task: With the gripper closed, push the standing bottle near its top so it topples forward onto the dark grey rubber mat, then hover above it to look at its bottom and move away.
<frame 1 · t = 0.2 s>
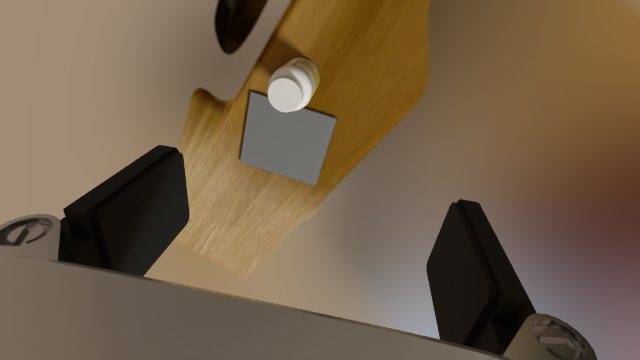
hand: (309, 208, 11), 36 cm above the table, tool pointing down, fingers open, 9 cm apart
rubber mat: (286, 140, 49), on the table
supplement bottle: (301, 77, 44), on the table
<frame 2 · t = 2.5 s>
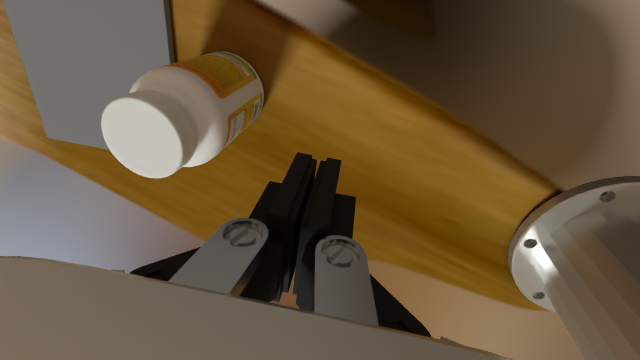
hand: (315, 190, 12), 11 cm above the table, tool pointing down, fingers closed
rubber mat: (101, 68, 23), on the table
supplement bottle: (230, 90, 23), on the table
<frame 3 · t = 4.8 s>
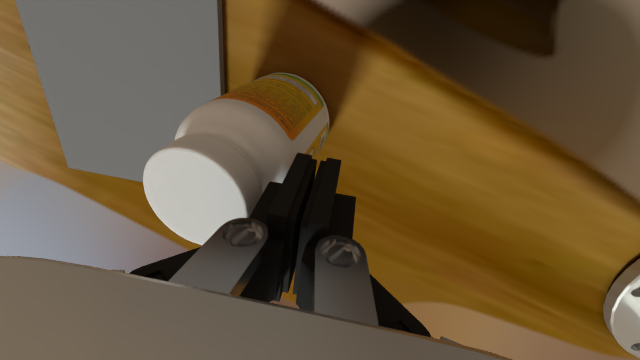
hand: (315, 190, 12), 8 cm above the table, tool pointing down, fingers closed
rubber mat: (134, 90, 20), on the table
supplement bottle: (288, 116, 19), on the table
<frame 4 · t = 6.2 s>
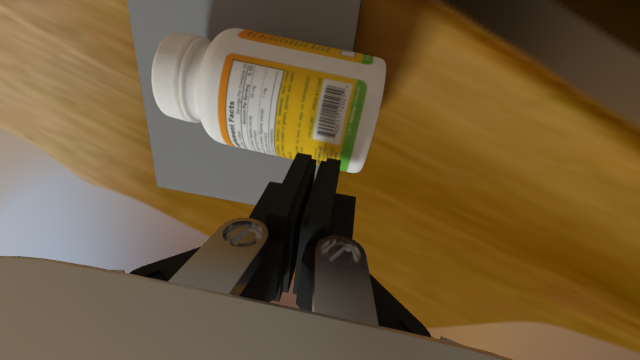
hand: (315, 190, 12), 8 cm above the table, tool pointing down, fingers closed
rubber mat: (242, 108, 19), on the table
supplement bottle: (377, 120, 15), point 3 cm above the table, touching rubber mat
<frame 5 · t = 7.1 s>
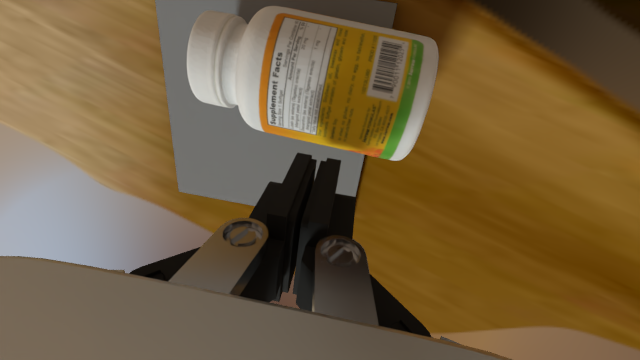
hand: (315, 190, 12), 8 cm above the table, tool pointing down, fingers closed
rubber mat: (269, 113, 19), on the table
supplement bottle: (421, 104, 14), point 3 cm above the table, touching rubber mat
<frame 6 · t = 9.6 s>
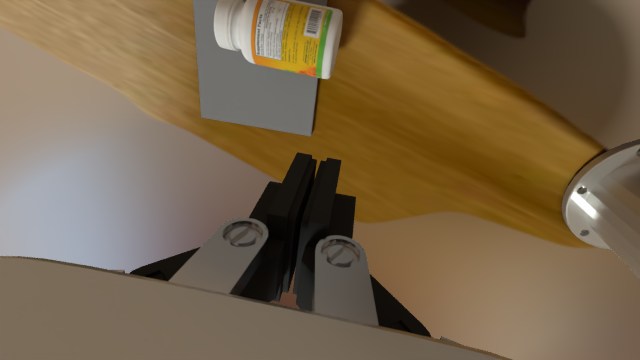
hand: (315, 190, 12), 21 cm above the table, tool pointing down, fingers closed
rubber mat: (258, 61, 31), on the table
supplement bottle: (339, 47, 26), point 3 cm above the table, touching rubber mat
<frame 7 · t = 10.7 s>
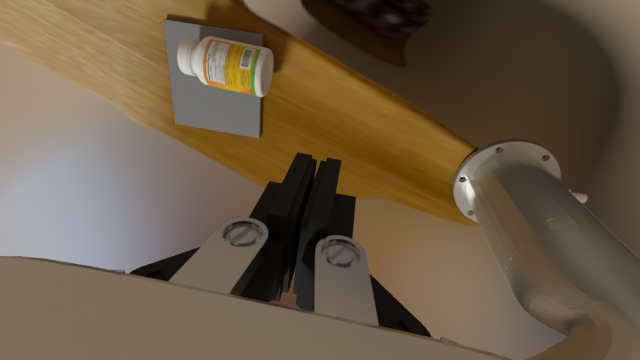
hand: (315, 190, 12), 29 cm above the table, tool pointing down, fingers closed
rubber mat: (216, 82, 41), on the table
supplement bottle: (269, 74, 36), point 3 cm above the table, touching rubber mat
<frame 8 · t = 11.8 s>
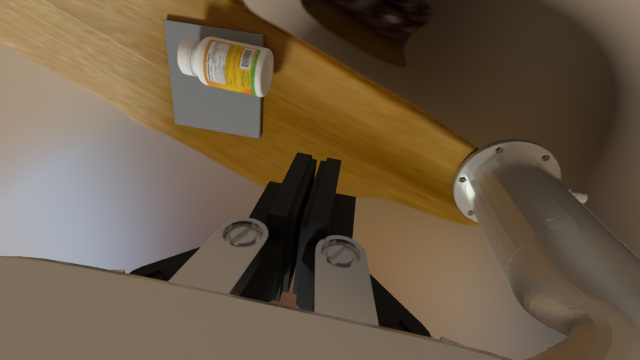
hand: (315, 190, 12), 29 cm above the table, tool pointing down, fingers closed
rubber mat: (216, 82, 41), on the table
supplement bottle: (269, 74, 36), point 3 cm above the table, touching rubber mat
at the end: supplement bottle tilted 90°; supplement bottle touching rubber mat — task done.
